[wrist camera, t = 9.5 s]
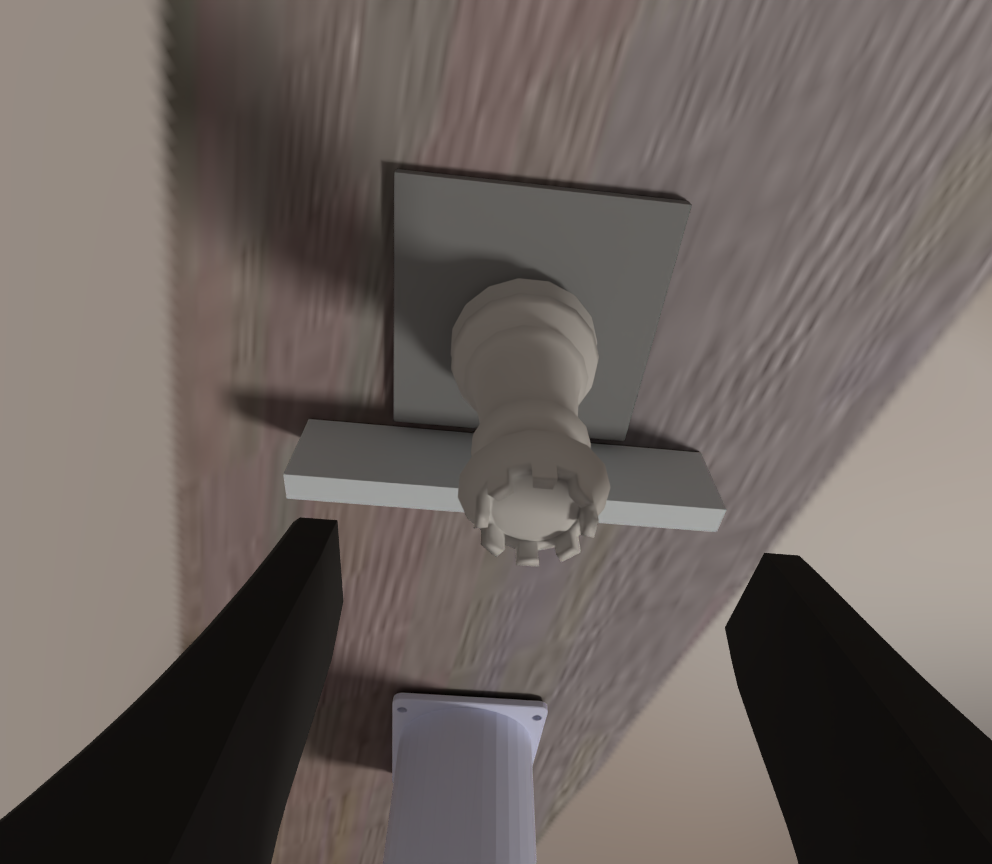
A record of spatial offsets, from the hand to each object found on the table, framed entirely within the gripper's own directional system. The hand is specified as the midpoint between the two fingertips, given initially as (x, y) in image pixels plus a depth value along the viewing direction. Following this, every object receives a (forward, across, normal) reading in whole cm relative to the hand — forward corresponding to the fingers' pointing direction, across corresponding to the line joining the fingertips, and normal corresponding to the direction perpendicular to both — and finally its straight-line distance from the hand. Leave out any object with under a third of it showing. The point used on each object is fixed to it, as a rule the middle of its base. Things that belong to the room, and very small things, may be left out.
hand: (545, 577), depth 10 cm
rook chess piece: (+10, 0, 0) cm, 10 cm away
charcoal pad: (+10, 0, 0) cm, 10 cm away
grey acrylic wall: (+10, 0, +5) cm, 11 cm away
